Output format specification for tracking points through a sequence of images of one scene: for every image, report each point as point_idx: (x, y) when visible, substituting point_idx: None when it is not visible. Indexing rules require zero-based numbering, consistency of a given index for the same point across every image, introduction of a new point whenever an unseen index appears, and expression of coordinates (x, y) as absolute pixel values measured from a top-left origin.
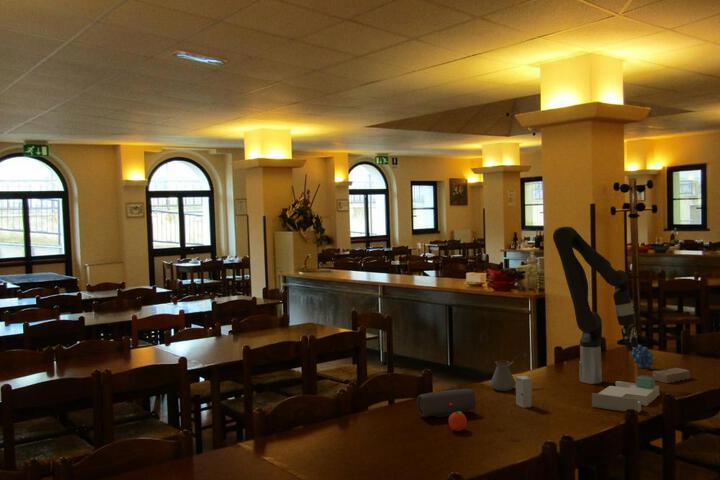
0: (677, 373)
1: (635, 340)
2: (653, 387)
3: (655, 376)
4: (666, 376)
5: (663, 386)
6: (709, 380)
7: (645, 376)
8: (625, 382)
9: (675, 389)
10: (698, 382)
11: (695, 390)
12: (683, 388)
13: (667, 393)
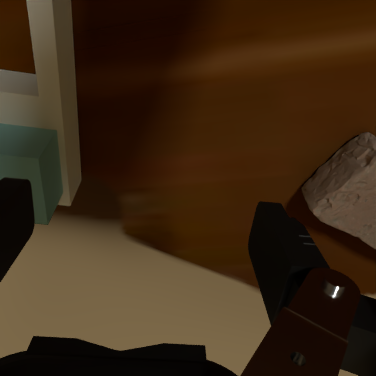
0: (362, 240)
1: (270, 300)
2: None
3: (354, 153)
4: (308, 206)
5: (242, 178)
6: (370, 287)
7: None
8: (40, 41)
9: (204, 218)
10: (336, 266)
11: (212, 265)
12: (230, 237)
13: (126, 201)
